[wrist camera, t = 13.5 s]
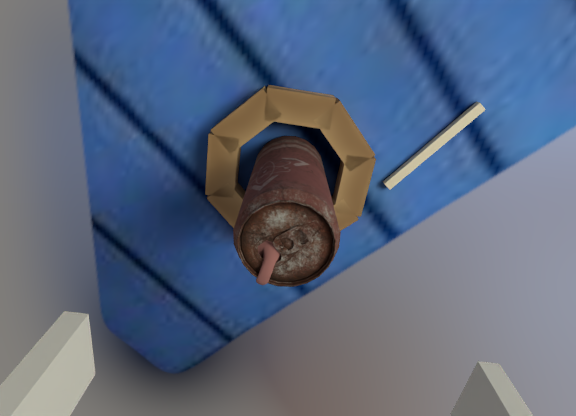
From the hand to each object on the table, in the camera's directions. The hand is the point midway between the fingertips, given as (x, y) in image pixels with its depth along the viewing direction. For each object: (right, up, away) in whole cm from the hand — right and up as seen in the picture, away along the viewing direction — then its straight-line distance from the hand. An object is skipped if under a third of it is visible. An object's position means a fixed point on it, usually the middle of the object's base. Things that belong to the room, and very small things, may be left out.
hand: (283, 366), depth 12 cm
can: (0, +9, +20) cm, 22 cm away
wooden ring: (0, +9, +20) cm, 22 cm away
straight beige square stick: (+13, +11, +19) cm, 25 cm away
